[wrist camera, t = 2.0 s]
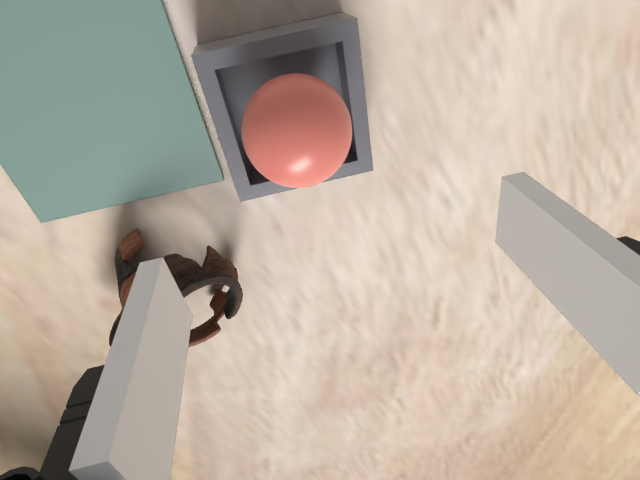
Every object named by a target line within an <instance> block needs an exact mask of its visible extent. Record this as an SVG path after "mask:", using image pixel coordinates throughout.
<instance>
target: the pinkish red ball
mask: <svg viewBox="0 0 640 480" xmlns="http://www.w3.org/2000/svg"><path fill="white" fill-rule="evenodd" d="M241 134H242V141H243V145H244V149H245V152H246V154H247V156H248V158H249V160H250V161H251V163H252V164H253V166H254V167H255V168H256V169H257V170H258V172H259V173H261V174H262V175H263V176H264V177H266V178H267V179H269V180H270V181H272V182H274V183H276V184H278V185H281V186H285V187H290V188H305V187H310V186H314V185H317V184H319V183H321V182H323V181H325V180H327V179H328V178H329V177H331V176H332V175H333V174H334V173H335V172H336V171H337V170H338V169H339V168H340V167H341V165H342V164H343V162H344V161H345V159H346V157H347V155H348V152H349V149H350V146H351V141H352V122H351V117H350V113H349V111H348V108H347V106H346V104H345V102H344V100H343V99H342V97H341V96H340V94H339V93H338V92H337V91H336V90H335V89H334V88H333V87H331V86H330V85H329V84H328V83H326V82H325V81H323V80H321V79H319V78H317V77H315V76H311V75H308V74H301V73H291V74H284V75H281V76H278V77H275V78H273V79H271V80H269V81H268V82H266V83H264V84H263V85H262V86H261V87H260V88H259V89H258V90H257V91H256V92H255V93H254V94H253V95H252V97H251V98H250V100H249V102H248V104H247V106H246V108H245V111H244V114H243V119H242V125H241Z"/></svg>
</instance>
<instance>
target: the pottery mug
mask: <svg viewBox="0 0 640 480" xmlns="http://www.w3.org/2000/svg"><path fill="white" fill-rule="evenodd" d="M144 244H145V242H144V240H143V239H142V237H140V232H139V230H137V229H136V230H134V231H132V232H131V233H130V234H128V235H127V237H126V238H125V239H124V240H123V241H122V243H121V245H120V246H119V248H118V250H117V252H116V256H115V267H116V274H117V280H118V290H119V298H120V302H121V305H122V310H121V312H120V314H119V315H118V317H117V319H116V320H115V322H114V324H113V327H112V329H111V333H110V337H109V344H110V347H111V345H112V342H113V339H114V336H115V333H116V330H117V328H118V325H119V322H120V319H121V316H122V313H123V310H124V307H125V304H126V301H127V298H128V295H129V292H130V289H131V287H132V284H133V281H134V278H135V275H136V272H137V271H136V272H135V273H134V272H133V271H132V270H131V268H130V267H129V260H130V259H131V258H132V256H133V255H134V254H135V253H136V252H137V251H138V250H139V249H140V248H141V247H142V246H144ZM164 260H165V262H166V264H167V266H168V268H169V270H170V272H171V274H172V276H173V278H174V280H175V282H176V284H177V286H178V288H179V290H180V292H181V294H182V296H183V298H185V297H186V296H187V295H189V294H190V293H192V292H193V291H195V290H197V289H199V288H201V287H204V286H207V285H211V284H223V285H227V286H229V287H230V289H229V290H228V292H227V293H226V292H223V291H220V290H218V291H217V292H216V293H215V294H214V296H213V298H212V300H211V302H210V307H211V308H212V309H213V310H214V316H212V317H211V318H210V319H209V320H208V321H206V322H205V323H203V324H202V325H200V326H199V327H196V328H195V329H192V330H190V338H189V345H188V347H190V346H194V345H197V344H200V343H201V342H204V341H206V340H208V339H210V338H211V337H213V336H214V335H216V334H217V333H218V332H220V330H221V328H220V326H219V325H218V323H217V322H218V320H219V319H221V318H222V316H223V315H224V314H225V316H226V318H227V319H231V318H232V317H233V316H235V315H236V313H237V312H238V310H239V308H240V305H241V302H242V297H243V293H242V288H241V287H240V284H239V282H238V273H237V269H236V268H235V267H234V265H233V263H231V262H230V261H228V260H226V259H224V258H223V257H222V256H220V255H219V254H218V253H217V252H216V251H215V250H214V249H213V248H212V247H211V246H207V255H206V257H205V260H204V263H203V266H202V267H200V266H199V264H198V263H197V262H196V261H193V260H192V259H189V258H184V257H182V256H181V255H179V254H171V255H167V256H165V257H164Z"/></svg>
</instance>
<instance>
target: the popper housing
mask: <svg viewBox="0 0 640 480" xmlns="http://www.w3.org/2000/svg"><path fill="white" fill-rule="evenodd" d="M191 57H192V60H193V63H194V66H195V69H196V72H197V75H198V78H199V81H200V83H201V86H202V89H203V92H204V95H205V98H206V101H207V104H208V107H209V110H210V113H211V116H212V119H213V122H214V125H215V128H216V131H217V134H218V137H219V140H220V143H221V146H222V149H223V152H224V155H225V158H226V161H227V164H228V167H229V170H230V173H231V176H232V179H233V182H234V185H235V188H236V191H237V194H238V197H239V200H240V202H241V201H246V200H250V199H254V198H258V197H262V196H267V195H271V194H275V193H279V192H284V191H288V190H292V189H296V188H290V187H285V186H281V185H278V184H276V183H274V182H272V181H270V180H269V179H267V178H266V177H264V176H263V175H262V174H261V173H259V172H258V170H257V169H256V168H255V167H254V166H253V164H252V163H251V161H250V160H249V158H248V156H247V154H246V152H245V149H244V145H243V141H242V134H241V125H242V119H243V114H244V111H245V108H246V106H247V104H248V102H249V100H250V98H251V97H252V95H253V94H254V93H255V92H256V91H257V90H258V89H259V88H260V87H261V86H262V85H263V84H264V83H266V82H268V81H269V80H271V79H273V78H275V77H278V76H281V75H284V74H291V73H301V74H308V75H311V76H315V77H317V78H319V79H321V80H323V81H325V82H326V83H328V84H329V85H330V86H331V87H333V88H334V89H335V90H336V91H337V92H338V93H339V94H340V96H341V97H342V99H343V100H344V102H345V104H346V106H347V108H348V111H349V113H350V117H351V122H352V141H351V146H350V149H349V152H348V155H347V157H346V159H345V161H344V162H343V164H342V165H341V167H340V168H339V169H338V170H337V171H336V172H335V173H334V174H333V175H332V176H331V177H329V178H328V179H327V180H325V181H323V182H326V181H330V180H334V179H339V178H343V177H347V176H351V175H356V174H360V173H364V172H368V171H373V163H372V154H371V144H370V135H369V126H368V116H367V107H366V98H365V88H364V79H363V69H362V60H361V51H360V41H359V32H358V23H357V18H355V17H353V16H350V15H348V14H346V13H343V12H341V13H336V14H332V15H327V16H323V17H318V18H314V19H309V20H305V21H300V22H296V23H291V24H286V25H282V26H277V27H273V28H268V29H264V30H259V31H255V32H250V33H246V34H241V35H237V36H232V37H228V38H223V39H219V40H214V41H210V42H205V43H201V44H197V46H196V47H195V49H194V51H193V53H192V55H191ZM321 183H322V182H321Z"/></svg>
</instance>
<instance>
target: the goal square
mask: <svg viewBox="0 0 640 480" xmlns="http://www.w3.org/2000/svg"><path fill="white" fill-rule="evenodd" d="M0 164H1V166H2V167H3V169H4V170H5V172H6V173H7V174H8V176H9V177H10V179H11V180H12V182H13V183H14V185H15V186H16V187H17V189H18V190H19V192H20V193H21V195H22V196H23V198H24V199H25V200H26V202H27V203H28V205H29V206H30V208H31V209H32V210H33V212H34V213H35V215H36V216H37V218H38V219H39V221H40V222H41V223H43V222H47V221H52V220H56V219H60V218H65V217H69V216H73V215H77V214H82V213H86V212H90V211H94V210H99V209H103V208H107V207H112V206H116V205H120V204H124V203H129V202H133V201H137V200H141V199H146V198H150V197H154V196H159V195H163V194H167V193H171V192H176V191H180V190H184V189H188V188H193V187H197V186H201V185H206V184H210V183H214V182H218V181H223V180H224V176H223V173H222V171H221V168H220V165H219V162H218V159H217V156H216V153H215V150H214V148H213V145H212V142H211V139H210V136H209V133H208V130H207V128H206V125H205V122H204V119H203V116H202V113H201V110H200V107H199V105H198V102H197V99H196V96H195V93H194V90H193V87H192V85H191V82H190V79H189V76H188V73H187V70H186V67H185V64H184V62H183V59H182V56H181V53H180V50H179V47H178V44H177V42H176V39H175V36H174V33H173V30H172V27H171V24H170V21H169V19H168V16H167V13H166V10H165V7H164V4H163V1H162V0H0Z"/></svg>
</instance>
